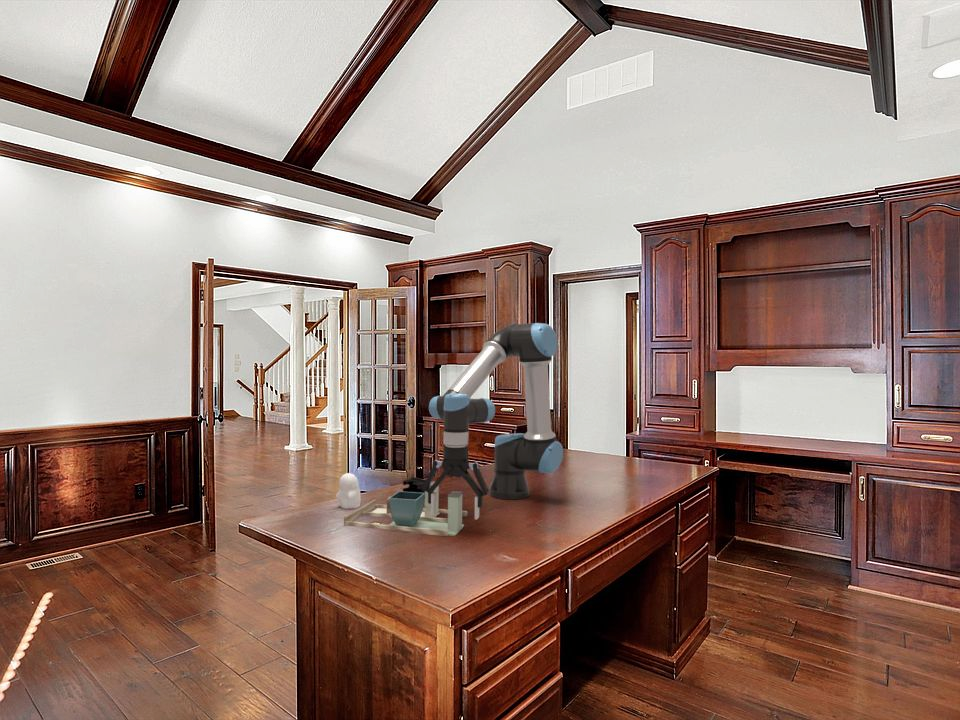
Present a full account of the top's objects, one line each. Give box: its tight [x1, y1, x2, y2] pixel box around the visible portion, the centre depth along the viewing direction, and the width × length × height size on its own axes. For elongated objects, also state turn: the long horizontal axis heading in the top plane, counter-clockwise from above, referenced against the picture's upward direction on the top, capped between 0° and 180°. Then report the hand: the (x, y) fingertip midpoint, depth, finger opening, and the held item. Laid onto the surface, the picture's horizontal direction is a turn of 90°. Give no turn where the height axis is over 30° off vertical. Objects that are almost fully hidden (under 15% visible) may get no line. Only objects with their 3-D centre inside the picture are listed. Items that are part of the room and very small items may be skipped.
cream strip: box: [371, 480, 441, 518], centre depth 183 cm, size 22×8×11 cm, turn 76°
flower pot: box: [389, 490, 425, 527], centre depth 171 cm, size 9×9×9 cm
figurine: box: [336, 472, 362, 510], centre depth 191 cm, size 7×8×12 cm
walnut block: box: [386, 495, 392, 514], centre depth 184 cm, size 5×5×5 cm
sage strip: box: [388, 490, 465, 537], centre depth 170 cm, size 22×10×11 cm, turn 76°
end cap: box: [402, 476, 426, 499], centre depth 207 cm, size 10×7×7 cm
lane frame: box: [343, 499, 468, 537], centre depth 176 cm, size 33×22×3 cm
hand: (454, 516), depth 168 cm, fingers open, 13 cm apart
